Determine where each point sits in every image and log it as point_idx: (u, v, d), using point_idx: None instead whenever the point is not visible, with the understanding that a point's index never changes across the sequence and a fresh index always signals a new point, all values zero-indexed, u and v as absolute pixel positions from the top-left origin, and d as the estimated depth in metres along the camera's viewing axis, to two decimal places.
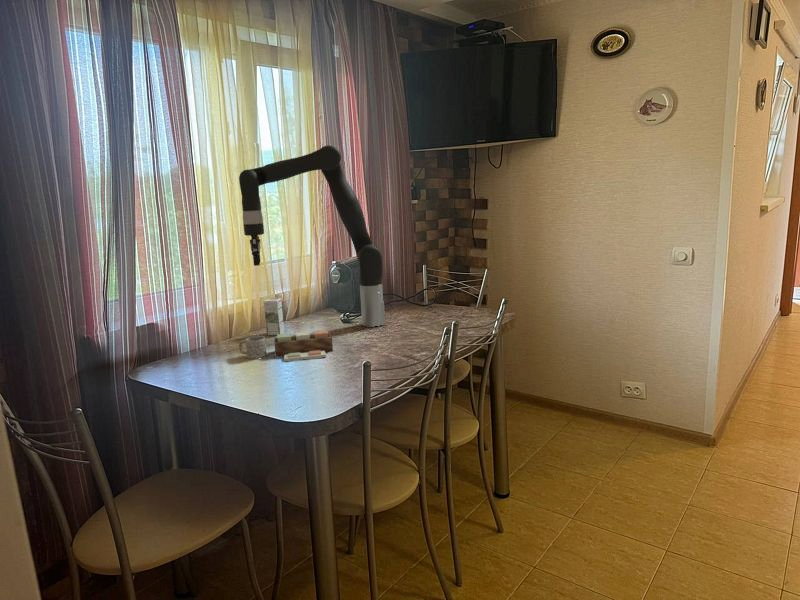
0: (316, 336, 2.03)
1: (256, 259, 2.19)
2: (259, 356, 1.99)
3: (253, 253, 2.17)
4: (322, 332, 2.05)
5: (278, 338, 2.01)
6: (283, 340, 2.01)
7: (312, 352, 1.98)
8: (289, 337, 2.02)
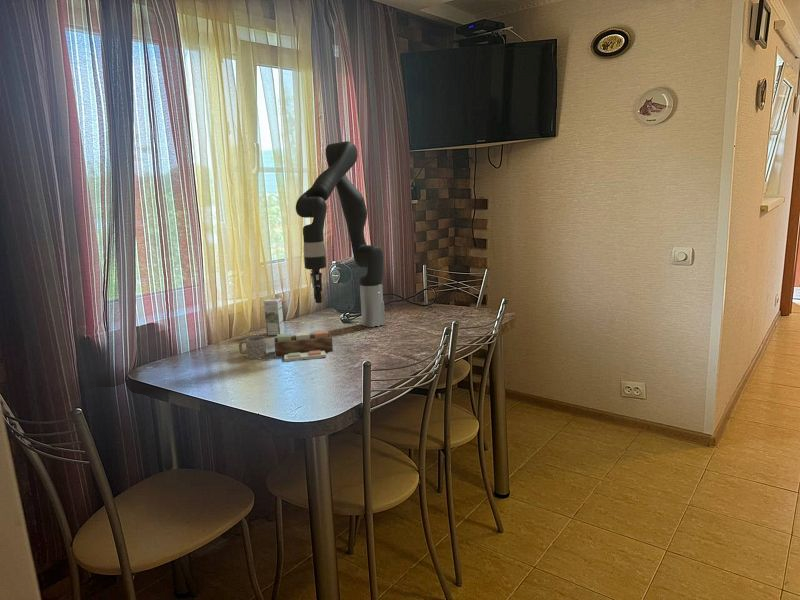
0: (316, 336, 2.03)
1: (318, 296, 1.98)
2: (259, 356, 1.99)
3: (316, 290, 1.96)
4: (322, 332, 2.05)
5: (278, 338, 2.01)
6: (283, 340, 2.01)
7: (312, 352, 1.98)
8: (289, 337, 2.02)
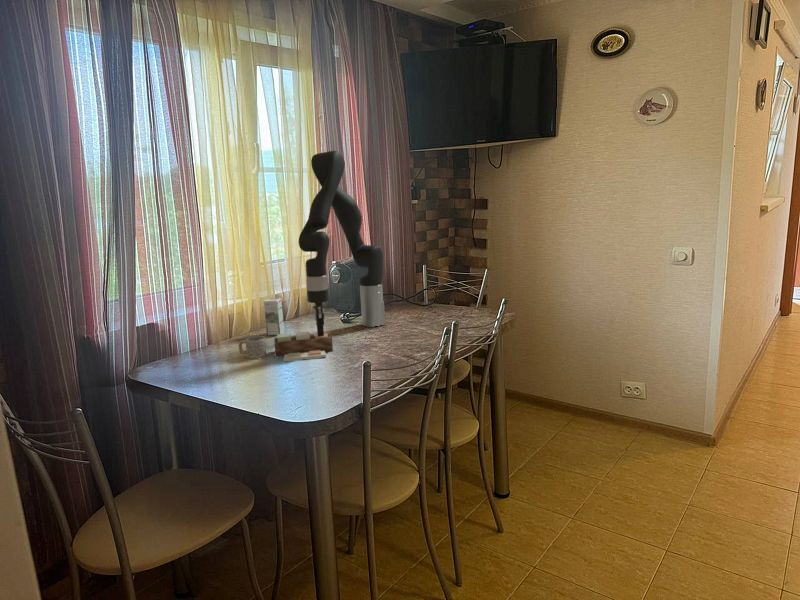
0: None
1: (320, 329, 2.04)
2: (259, 356, 1.99)
3: (318, 324, 2.02)
4: (322, 336, 2.05)
5: (278, 338, 2.01)
6: (283, 340, 2.01)
7: (312, 352, 1.98)
8: (289, 337, 2.02)
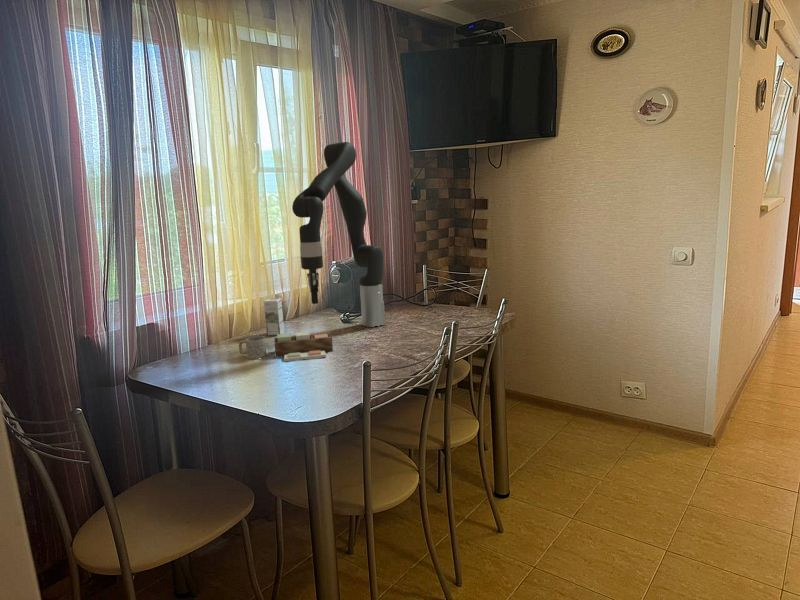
0: None
1: (315, 297, 2.01)
2: (259, 356, 1.99)
3: (312, 291, 1.99)
4: (322, 336, 2.05)
5: (278, 338, 2.01)
6: (283, 340, 2.01)
7: (312, 352, 1.98)
8: (289, 337, 2.02)
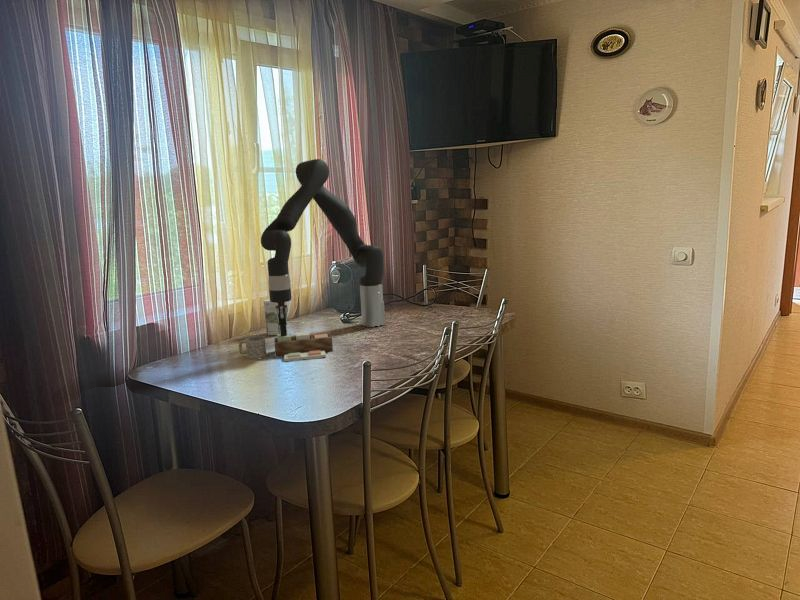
0: None
1: (283, 329, 2.02)
2: (259, 356, 1.99)
3: (280, 324, 1.99)
4: (322, 336, 2.05)
5: (278, 338, 2.01)
6: (283, 340, 2.01)
7: (312, 352, 1.98)
8: (289, 337, 2.02)
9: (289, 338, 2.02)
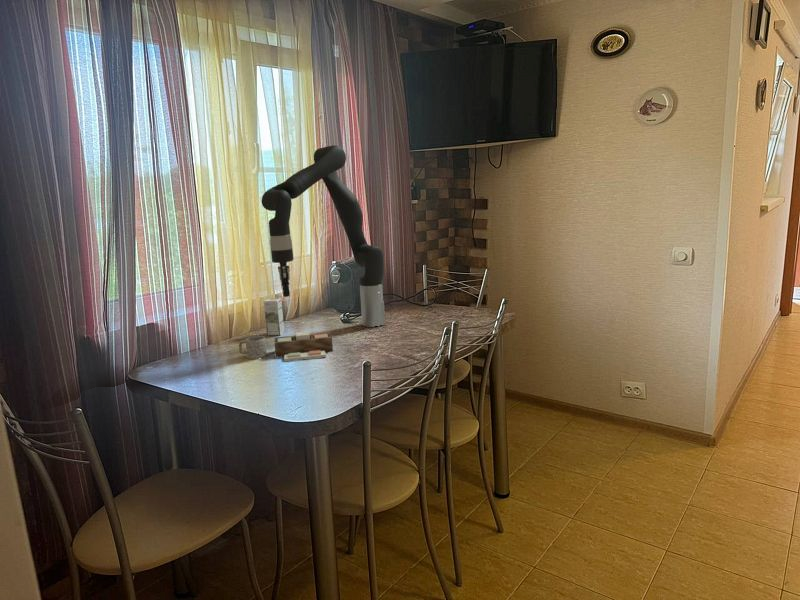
0: None
1: (286, 290, 2.03)
2: (259, 356, 1.99)
3: (283, 284, 2.00)
4: (322, 336, 2.05)
5: None
6: None
7: (312, 352, 1.98)
8: None
9: None
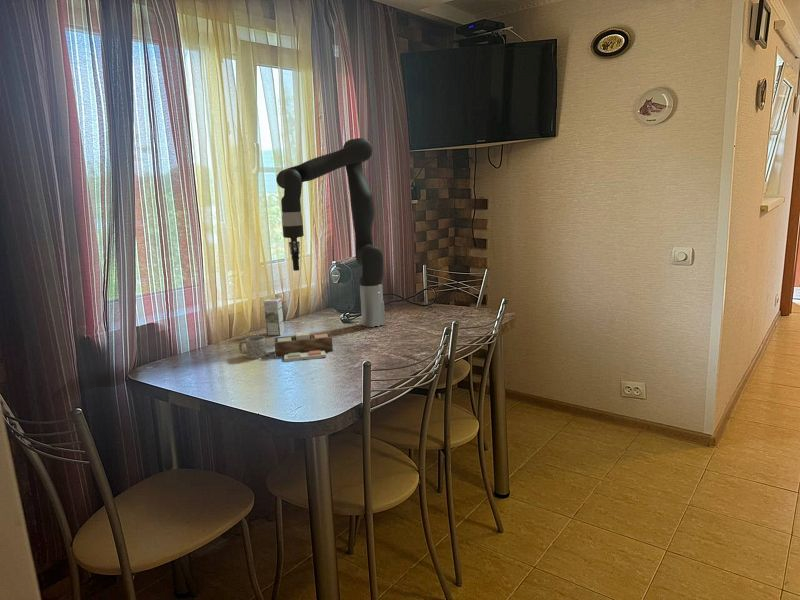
0: None
1: (296, 264, 2.15)
2: (259, 356, 1.99)
3: (293, 258, 2.13)
4: (322, 336, 2.05)
5: None
6: None
7: (312, 352, 1.98)
8: None
9: None
